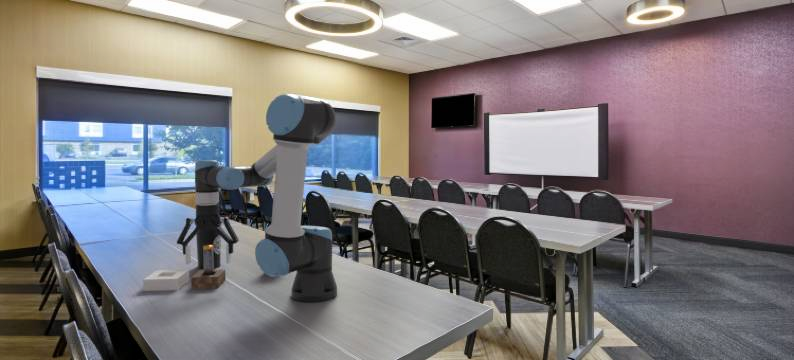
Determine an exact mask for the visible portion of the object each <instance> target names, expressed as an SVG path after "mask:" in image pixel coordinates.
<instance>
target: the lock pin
mask: <svg viewBox="0 0 794 360" xmlns="http://www.w3.org/2000/svg"><path fill="white" fill-rule="evenodd" d="M203 255H204V269H203V270H204V275H214V270H215V268H214V263H213V245H204V246H203Z"/></svg>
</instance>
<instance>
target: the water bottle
mask: <svg viewBox="0 0 794 360" xmlns="http://www.w3.org/2000/svg"><path fill="white" fill-rule="evenodd" d="M219 217H220V218H222V217H221V215H220V214H219ZM222 224H223V223H222V222H221V221H220V223H219V225H220V227H221V228H222ZM194 225H195V228H196V227H197V226H198V225H197V224H196V223H195V222H194ZM195 236H196V254H197V268H198V269H199V270H204V255H203V246H204V245H213V263H214V269H217V268H219V267H221V261H222V260H221V255H222V252H221V250H222V248H221V247H222V237H221V236H220V235H219V234H218V232H216V231H215V230H214V229H213V230H199V232H198V233H197V234H196V235H195Z"/></svg>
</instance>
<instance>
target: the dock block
mask: <svg viewBox="0 0 794 360" xmlns="http://www.w3.org/2000/svg"><path fill="white" fill-rule="evenodd" d="M189 281H190V269H158V270H155V271H153V272H152V273H151V274H150V275H148V276H146V277H145V278H143V279H142V284H143V285H142V286H143V287H142V288H143V292H150V291H151V292H156V291H158V292H159V291H178V290H180V289H181V288H182V287H183V286H185V285H186V284H187V283H188V282H189Z"/></svg>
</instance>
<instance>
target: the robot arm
mask: <svg viewBox="0 0 794 360" xmlns="http://www.w3.org/2000/svg"><path fill="white" fill-rule="evenodd" d="M265 113H266V115H265V122H266V125H267V128H268V130H269V132H271V133H272V134H273V137H272V138H273V139H272V140H273V141H274V143H275V144H276V145H274V146H273V147H272V148H271V149H270V150H269V151H267V152H266V153H265V154H264V155H263V156H261V157H260V158H259V159H258V160H257V161H255V162H254V163H253V164H252V165H244V166H243V165H242V166H240V165H239V166H219V165H220V164H219V161H218V160H215V159H203V160H202V159H199V160H196V161H195V162H194V163H195V164H194V165H195V166H194V167H195V169H194V185H195V188H194V189H195V204H196V205H195V217H192V216H189V217H187V218H186V219H185V225H184V227H183V228H182V231H181V233H180V234H179V237H178V239H177V240H176V244H177V245H181V246H182V254H183V255H185V265H190V264H191V263H192V257H191V256H192V254H191V253H192V251H191V250H192V249H191V247H192V246H191V244H190V242H191V241H192V240H193V239H194V238H195V236H196V234H197V233H198V232H199V230H213V229H214V230H215V231H216V232H218V234H219V235H220V236H221V239H223V240H224V241H225V243H226V245H225V254H226V255H225V257H226V260H225V261H226V264H227V265H228V264H230V263H231V260H232V259H231V255H232V254H233V253H234V244H237V243H238V242H239V241H240V240H239V237H238V236H237V234H236V232H235V230H234V229H233V227H232V224H231V223H230V218H229V217H228V216H225V217H221V218H220V217H219V215H220V204H219V202H220V189H223V190H228V191H229V190H237V189H240V188H241V189H242V188H251V187H252V188H254V187H264V186H268V185H270V184H272V182H273V180H274V191H273V199H272V201H273V202H272V212H271V213H272V214H271V222H270V225H269V226H267V228H265V230H264V231H265V232H264V238H263V239H261V240H260V241H258V243H257V244H256V245H255V247H254V248H255V249H254V251H255V252H254V255H255V260H256V263H257V265H258V266H259V268H260V270H261V271H262V272H263V273H264V274H265V275H266V276H268V277H272V278H275V277H281V276H286V275H288V274H290V273H291V274H292V273H294V272H296V273H295V277H294V280H293V284H292V286H291V292H290V293H291V294H290V296H291V298H292V299H293V300H296V301H298V302H304V303H305V302H307V303H318V302H319V303H320V302H324V301H329V300H332V299H333V298H335V297H336V296H337V294H338V286H337V282H336V280H335V277H334V274H333V273H334V272H333V232H332V230H331V229H330V228H329V227H325V226H319V225H317V226H316V225H301V223H302V222H301V221H302V213H303V201H304V194H305V193H304V192H305V181H306V180H305V179H306V170H307V162H308V161H307V160H308V150H309V148H310V147H311V146H312V145H320V143H321V142H322V141H324V140H326V139H327V138H328V137H329V136H330V135H331V134H332V132H333V130H334V129H335V127H336V122H337V116H336V113H335V110H334V108H333V106H332V105H331V104H330V103H329V102H328V101H326V100H325V99H321V98H319V97H310V96H305V95H298V94H290V93H288V94H287V93H285V94H284V93H283V94H280V95H278V96H276V97H275V98H274V99H273V100H272V101H271V102H270V103H269V105H268V108H267V110H266V112H265ZM274 175H275V176H274ZM274 177H275V179H274ZM220 221H221V222H222V224H223V225H224V227H225V229H226V231H227V233H228V234H229V235H228V234H227V233H226V232H225V230H224V229H223V228H222V226H221V227H220V225H219V223H220ZM195 223H196V224H197V225H198V226H197V227H196V226H195V228H194V229H193V231H192V232H191V233H190V234H189V235H188V236H187V234H188V232H189V231H190V228H191V226H192V225H193V224H195ZM186 236H187V238H186ZM185 238H186V239H185Z"/></svg>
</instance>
